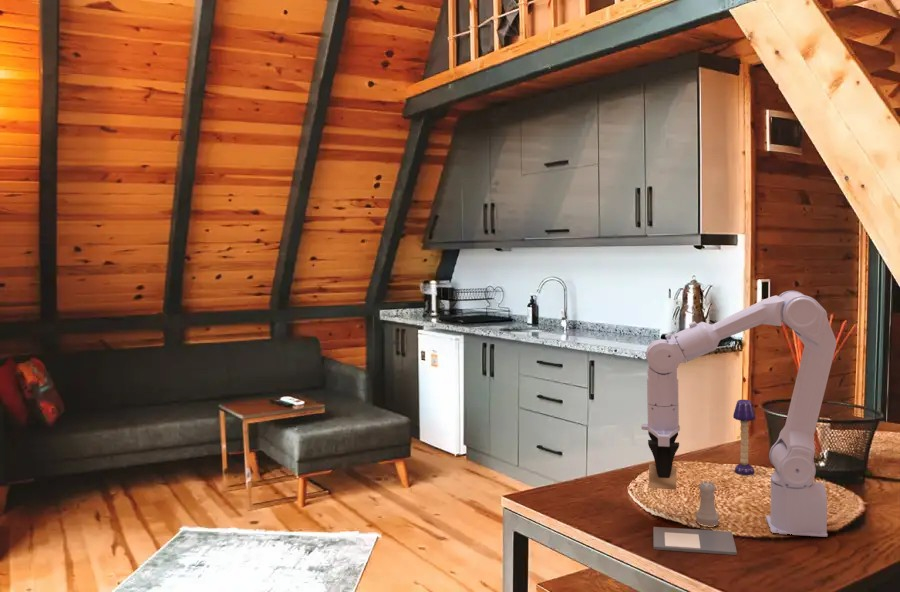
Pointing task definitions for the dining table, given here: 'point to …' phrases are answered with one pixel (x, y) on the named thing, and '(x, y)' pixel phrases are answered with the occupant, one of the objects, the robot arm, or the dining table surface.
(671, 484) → the oak block
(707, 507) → the rook chess piece
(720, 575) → the dining table surface
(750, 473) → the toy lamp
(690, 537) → the slate board
